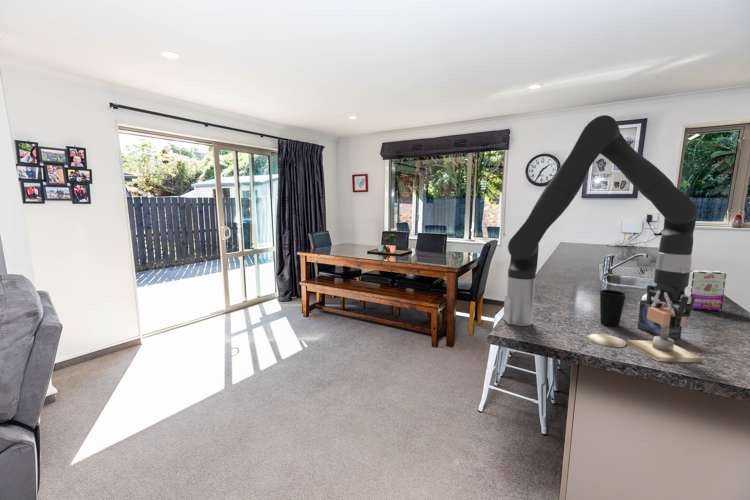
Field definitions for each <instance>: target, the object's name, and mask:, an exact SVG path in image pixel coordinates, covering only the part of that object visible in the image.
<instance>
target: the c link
mask: <svg viewBox="0 0 750 500" xmlns="http://www.w3.org/2000/svg"><path fill="white" fill-rule="evenodd" d="M671 316H672V315H671V311H670V309H669V308H656V307H648V311H647V319H649V320H651V321H653V322H656V323H658V324H660V325H662V326H670V319H671ZM686 319H687V317H682V318H681V323H680V326H682V327H685V325H686Z"/></svg>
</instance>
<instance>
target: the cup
mask: <svg viewBox="0 0 750 500" xmlns="http://www.w3.org/2000/svg"><path fill="white" fill-rule="evenodd" d="M626 296H627V294H626V293H625V292H622V291H619V290H613V289H612V290H610V289H601V290H599V299H600V300H599V301H600V302H599V305H600V307H599V309H600V311H599V312H600V315H599V317H600V324H602V325H603V326H606V327H611V328H618V327H620V326H619V325H620V323H621V317H622V313H623V309H624V306H625V305H624V303H625V300H626Z"/></svg>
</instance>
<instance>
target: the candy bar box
mask: <svg viewBox="0 0 750 500" xmlns="http://www.w3.org/2000/svg"><path fill="white" fill-rule="evenodd" d="M726 277H727V272H724V271H721V270H703V269H702V270H700V269H691V270H690V277H689V283H688V286H687V287H685V288H684V293H685V295H687V296H690V297H694V298H695V300H694V303H693V306H692V310H696V309H710V310H722V309H723V302H724V301H723V300H724V295H725V294H724V292H725V286H726ZM710 310H709V311H710ZM722 311H723V310H722Z"/></svg>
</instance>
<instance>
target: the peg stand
mask: <svg viewBox="0 0 750 500" xmlns="http://www.w3.org/2000/svg"><path fill="white" fill-rule="evenodd" d="M668 335H669V326H662V325H661V333H660V336H656V335H653V339H652V340H644V339H642V340H639V339H638V340H637V339H633V340H632V339H627V342H626V345H629V346H630V347H632V348H634V349H635V350H637V351H639V352H641V353H642V354H644V355H646V356H648V357H649V358H651V359H653V360H655V361H656V362H669V363H670V362H672V363H674V362H675V363H678V362H679V363H703V357H700V356H699V355H696V354H694V353H693V352H690V351H688V350H687V349H684V348H682V347H680V346H678V345H676V344H675V339H670V338H668Z"/></svg>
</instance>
